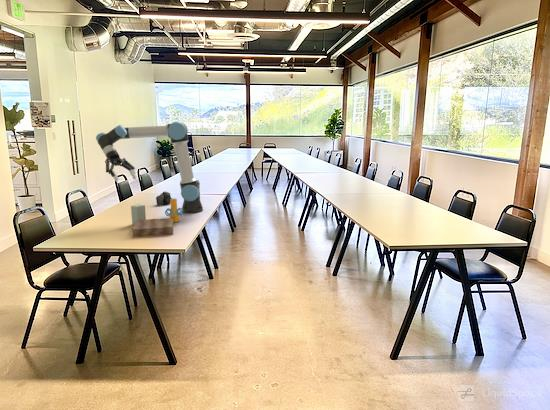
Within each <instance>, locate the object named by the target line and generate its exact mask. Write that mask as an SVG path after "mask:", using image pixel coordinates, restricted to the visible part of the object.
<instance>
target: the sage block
mask: <svg viewBox="0 0 550 410" xmlns="http://www.w3.org/2000/svg"><path fill="white" fill-rule="evenodd" d="M130 209H131V213H130V214H131V222H132V223H131V224H132V225H134V224H135V222H136V220H147V218H146V217H147V216H146V205H145V204H140V203H139V204H133V205H130Z"/></svg>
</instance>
